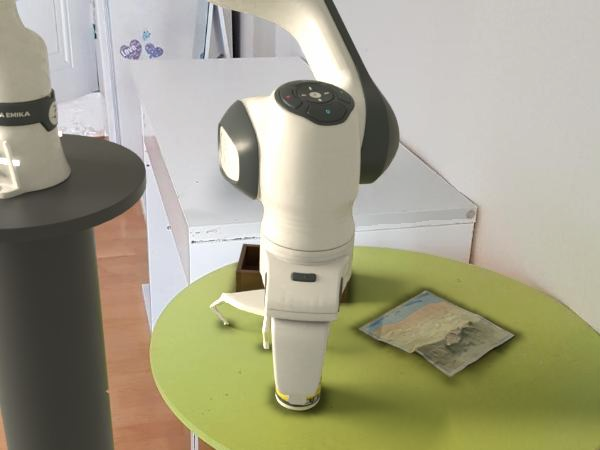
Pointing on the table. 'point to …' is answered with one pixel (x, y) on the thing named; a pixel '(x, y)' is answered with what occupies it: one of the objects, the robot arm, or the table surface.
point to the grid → (255, 271)
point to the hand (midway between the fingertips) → (299, 371)
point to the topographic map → (437, 332)
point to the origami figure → (246, 307)
